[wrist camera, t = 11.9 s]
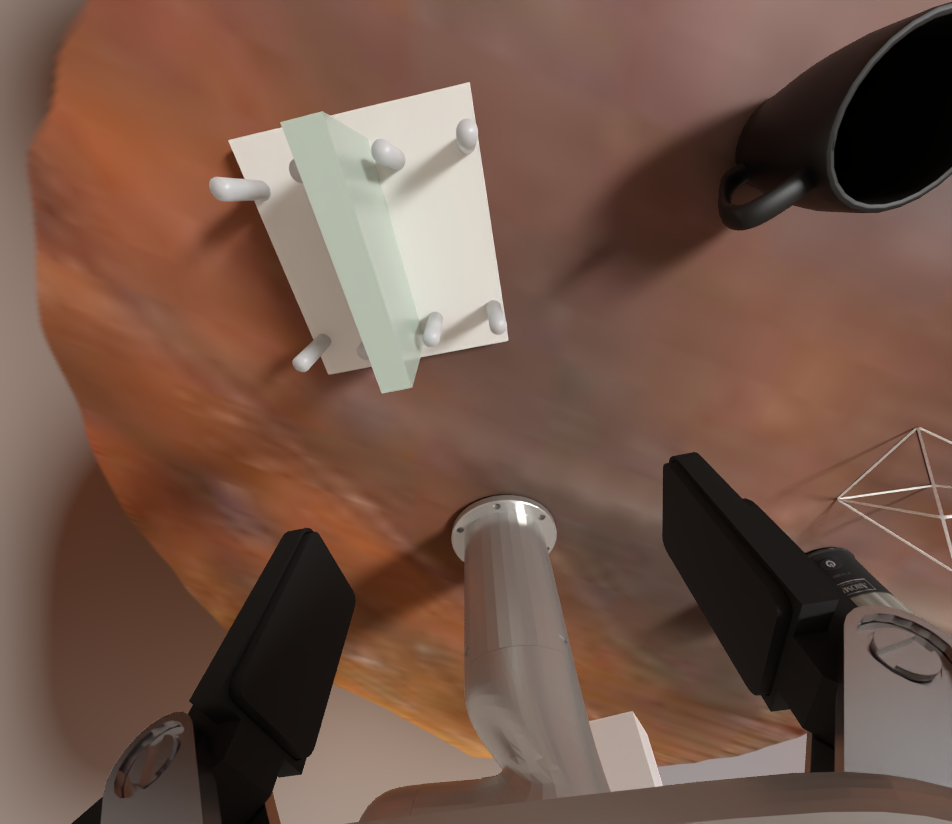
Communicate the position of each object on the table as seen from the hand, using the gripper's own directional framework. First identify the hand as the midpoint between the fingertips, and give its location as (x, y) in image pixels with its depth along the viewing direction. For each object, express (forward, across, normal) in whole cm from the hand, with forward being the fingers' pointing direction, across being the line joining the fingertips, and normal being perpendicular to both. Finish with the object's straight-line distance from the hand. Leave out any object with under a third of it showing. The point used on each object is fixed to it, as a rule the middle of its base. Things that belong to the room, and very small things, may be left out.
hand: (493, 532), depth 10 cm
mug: (+25, -22, -6) cm, 33 cm away
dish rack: (+24, +5, -6) cm, 26 cm away
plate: (+23, +5, -6) cm, 24 cm away
